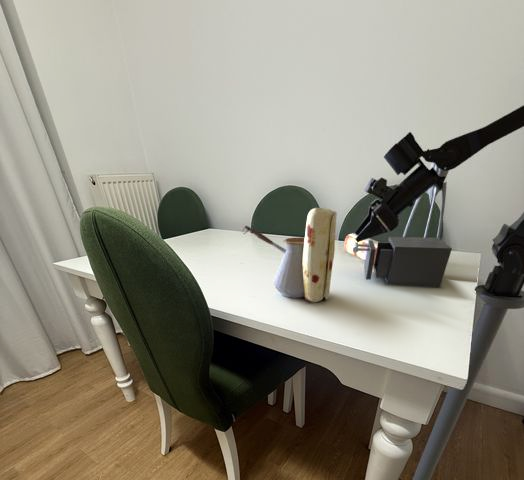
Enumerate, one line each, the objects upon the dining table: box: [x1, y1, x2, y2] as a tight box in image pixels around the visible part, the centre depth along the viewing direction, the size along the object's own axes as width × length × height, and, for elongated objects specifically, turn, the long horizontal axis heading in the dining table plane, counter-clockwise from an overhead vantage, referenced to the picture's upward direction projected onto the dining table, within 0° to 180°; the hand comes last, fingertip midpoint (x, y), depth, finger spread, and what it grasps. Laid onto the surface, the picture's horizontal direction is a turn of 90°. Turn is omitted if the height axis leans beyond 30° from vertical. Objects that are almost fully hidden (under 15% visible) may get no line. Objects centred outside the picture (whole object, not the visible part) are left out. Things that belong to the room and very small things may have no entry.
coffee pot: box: [241, 225, 305, 299], centre depth 73 cm, size 21×12×15 cm, turn 56°
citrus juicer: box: [402, 162, 450, 239], centre depth 86 cm, size 11×10×30 cm
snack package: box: [343, 232, 379, 267], centre depth 98 cm, size 21×7×7 cm, turn 12°
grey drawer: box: [352, 239, 394, 280], centre depth 81 cm, size 16×12×8 cm
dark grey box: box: [384, 236, 453, 289], centre depth 79 cm, size 13×13×10 cm
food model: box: [302, 207, 338, 303], centre depth 65 cm, size 10×7×20 cm
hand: (355, 237), depth 79 cm, fingers open, 9 cm apart
